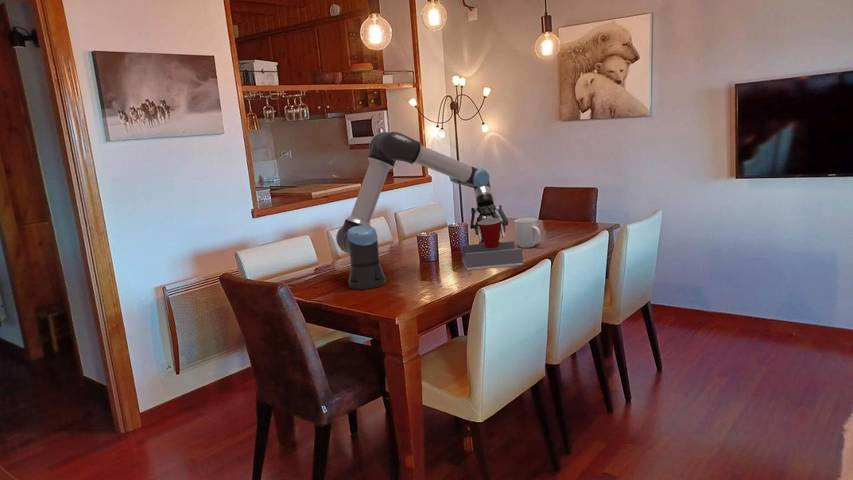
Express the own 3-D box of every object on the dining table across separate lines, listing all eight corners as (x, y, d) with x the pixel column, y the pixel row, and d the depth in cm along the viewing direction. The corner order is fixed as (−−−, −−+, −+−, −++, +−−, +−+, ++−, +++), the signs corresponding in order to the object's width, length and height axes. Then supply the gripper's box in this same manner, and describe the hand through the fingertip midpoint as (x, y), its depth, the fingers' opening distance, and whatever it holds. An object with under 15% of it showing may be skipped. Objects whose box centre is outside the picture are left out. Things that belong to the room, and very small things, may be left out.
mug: (549, 246, 280) (548, 219, 277) (532, 251, 274) (530, 223, 271) (527, 243, 292) (526, 217, 290) (510, 247, 286) (509, 220, 284)
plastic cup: (475, 246, 261) (473, 220, 259) (497, 243, 264) (496, 216, 262) (485, 250, 251) (483, 223, 248) (508, 247, 254) (506, 220, 251)
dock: (467, 270, 249) (465, 254, 248) (462, 260, 267) (461, 245, 266) (523, 264, 250) (522, 248, 249) (514, 255, 268) (513, 240, 266)
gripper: (507, 201, 269) (516, 241, 257) (459, 205, 269) (466, 246, 256) (509, 191, 263) (518, 232, 251) (460, 195, 262) (466, 236, 250)
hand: (492, 239), depth 253 cm, fingers closed on plastic cup, 9 cm apart
